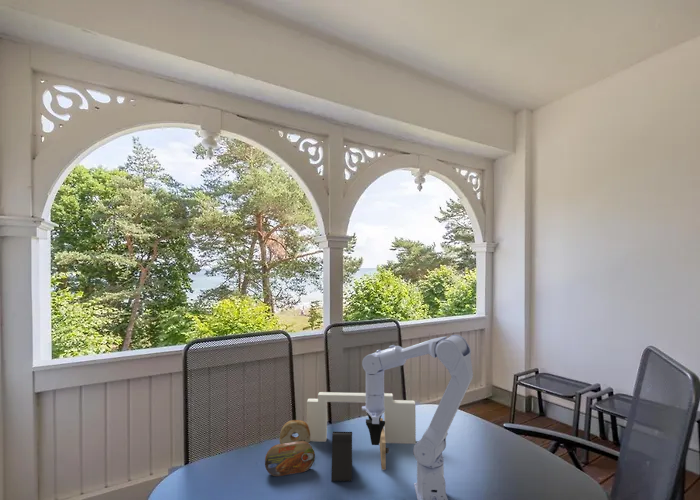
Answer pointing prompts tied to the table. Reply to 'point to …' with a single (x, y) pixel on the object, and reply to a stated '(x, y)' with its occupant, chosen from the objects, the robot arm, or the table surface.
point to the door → (383, 449)
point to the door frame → (396, 411)
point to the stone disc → (294, 427)
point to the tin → (289, 458)
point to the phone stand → (341, 456)
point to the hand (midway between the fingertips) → (375, 438)
